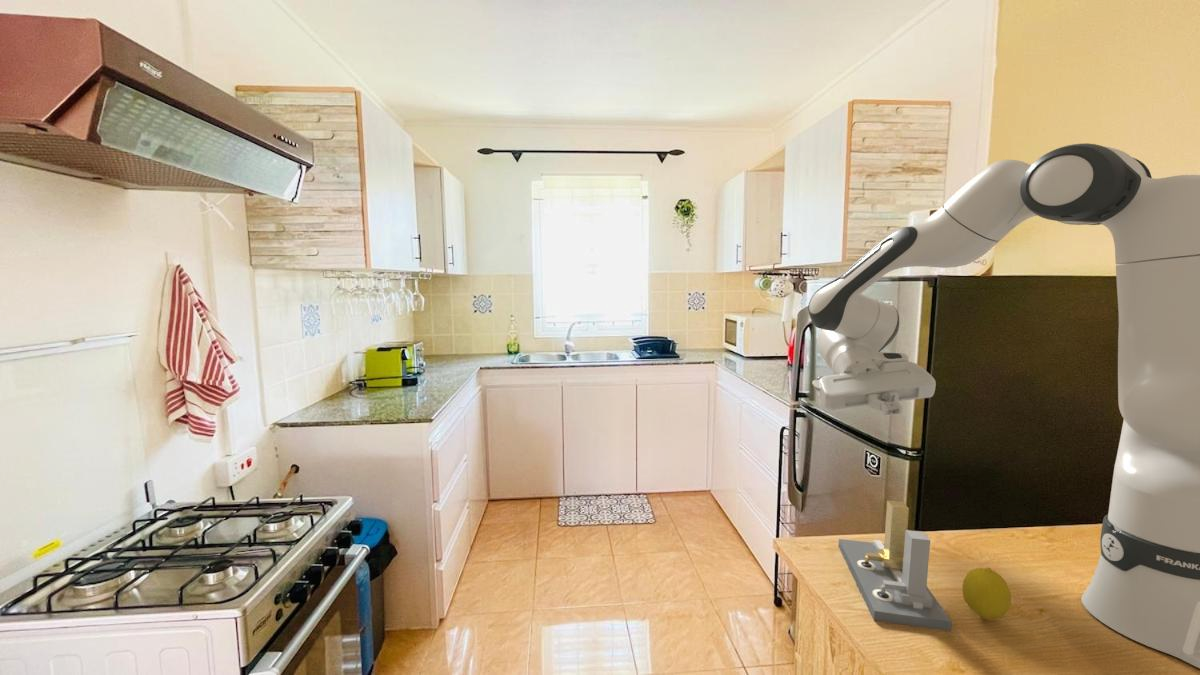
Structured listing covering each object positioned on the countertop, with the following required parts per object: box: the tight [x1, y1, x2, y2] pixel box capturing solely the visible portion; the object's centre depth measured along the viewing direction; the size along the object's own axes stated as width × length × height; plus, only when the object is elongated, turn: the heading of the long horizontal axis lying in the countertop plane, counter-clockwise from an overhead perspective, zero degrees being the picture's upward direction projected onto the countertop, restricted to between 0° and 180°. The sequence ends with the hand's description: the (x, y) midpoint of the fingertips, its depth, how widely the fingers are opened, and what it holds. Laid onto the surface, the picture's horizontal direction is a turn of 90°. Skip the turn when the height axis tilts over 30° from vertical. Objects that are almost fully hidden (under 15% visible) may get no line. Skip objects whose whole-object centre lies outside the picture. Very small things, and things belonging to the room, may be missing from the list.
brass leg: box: [865, 500, 910, 569], centre depth 79 cm, size 6×3×11 cm, turn 77°
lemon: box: [962, 567, 1012, 620], centre depth 69 cm, size 6×6×8 cm
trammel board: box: [838, 529, 953, 632], centre depth 77 cm, size 10×20×12 cm, turn 167°
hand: (893, 411), depth 86 cm, fingers closed
